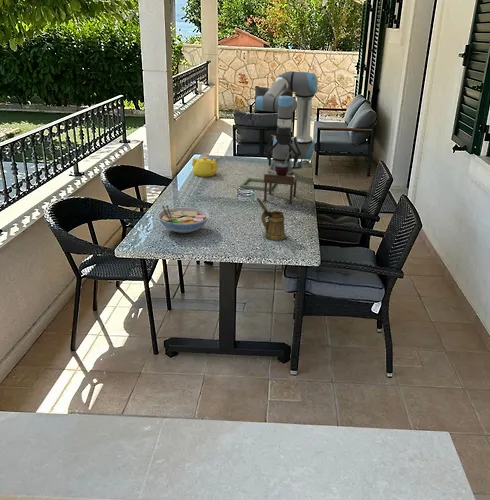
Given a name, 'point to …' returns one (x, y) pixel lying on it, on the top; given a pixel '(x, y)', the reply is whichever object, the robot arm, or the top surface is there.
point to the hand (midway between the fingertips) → (282, 166)
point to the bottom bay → (254, 186)
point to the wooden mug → (273, 223)
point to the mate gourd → (282, 167)
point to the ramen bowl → (183, 219)
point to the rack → (280, 179)
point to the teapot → (204, 167)
